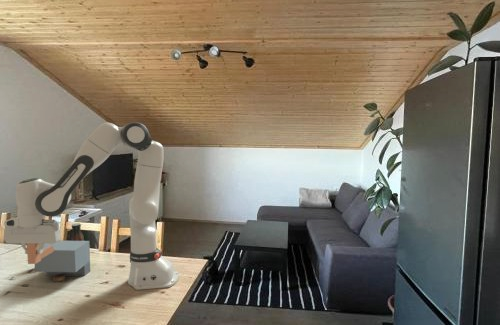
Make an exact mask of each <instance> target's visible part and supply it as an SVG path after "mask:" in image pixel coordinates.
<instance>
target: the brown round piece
mask: <svg viewBox="0 0 500 325" xmlns="http://www.w3.org/2000/svg"><path fill="white" fill-rule="evenodd" d="M52 279H53V283H56V284H57V283H59V284H60V283H62V282H64V281H65V280H66V276H65V275H64V274H59V275H53V278H52Z"/></svg>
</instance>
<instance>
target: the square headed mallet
mask: <svg viewBox="0 0 500 325" xmlns="http://www.w3.org/2000/svg"><path fill="white" fill-rule="evenodd" d="M39 247H40V246H38V243H27V254H26V255H27V264H28V265H35V264H36V263H38V262H40V261H41V259H42V258H44V257H45V256H47V255H49V254H50V253H52V252H54V247H53V245H51V246H49V247H48V248H46V249H44V250H43V253H42V254H36V250H37V249H39Z"/></svg>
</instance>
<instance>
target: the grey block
mask: <svg viewBox="0 0 500 325" xmlns="http://www.w3.org/2000/svg"><path fill="white" fill-rule="evenodd" d="M51 245H53V247H54V252H52V253H50V254H49V255H47V256H45V257H44V258H42V259H41V261H40V262H38V263H36V264H34V272H35V273H45V275H46V276H56V275H59V274H64V275H65V277H67V276H69V277H71V276H72V277H73V276H74V277H77V276H78V277H79V276H80V277H81V276H82V277H85V276H86V275H88V274H89V273H90V272H91V252H90V250H91V248H90V247H91V246H90V240H84V241H70V240H59V241H58V242H56V243H54V244H45V246H44V248H43V250H44V249H46V248H48V247H49V246H51Z"/></svg>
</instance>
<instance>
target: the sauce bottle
mask: <svg viewBox="0 0 500 325" xmlns="http://www.w3.org/2000/svg"><path fill="white" fill-rule="evenodd" d="M81 226H82V224H81V223H80V222H79V223H72V224H71V230H72V232H71V236H70V239H69V241H85V237H84V234H83V233H82V230H81Z"/></svg>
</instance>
